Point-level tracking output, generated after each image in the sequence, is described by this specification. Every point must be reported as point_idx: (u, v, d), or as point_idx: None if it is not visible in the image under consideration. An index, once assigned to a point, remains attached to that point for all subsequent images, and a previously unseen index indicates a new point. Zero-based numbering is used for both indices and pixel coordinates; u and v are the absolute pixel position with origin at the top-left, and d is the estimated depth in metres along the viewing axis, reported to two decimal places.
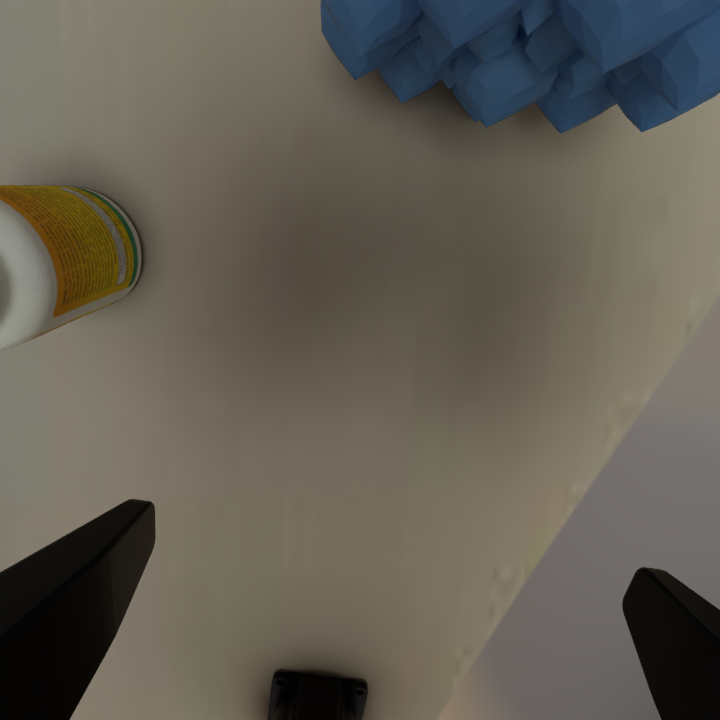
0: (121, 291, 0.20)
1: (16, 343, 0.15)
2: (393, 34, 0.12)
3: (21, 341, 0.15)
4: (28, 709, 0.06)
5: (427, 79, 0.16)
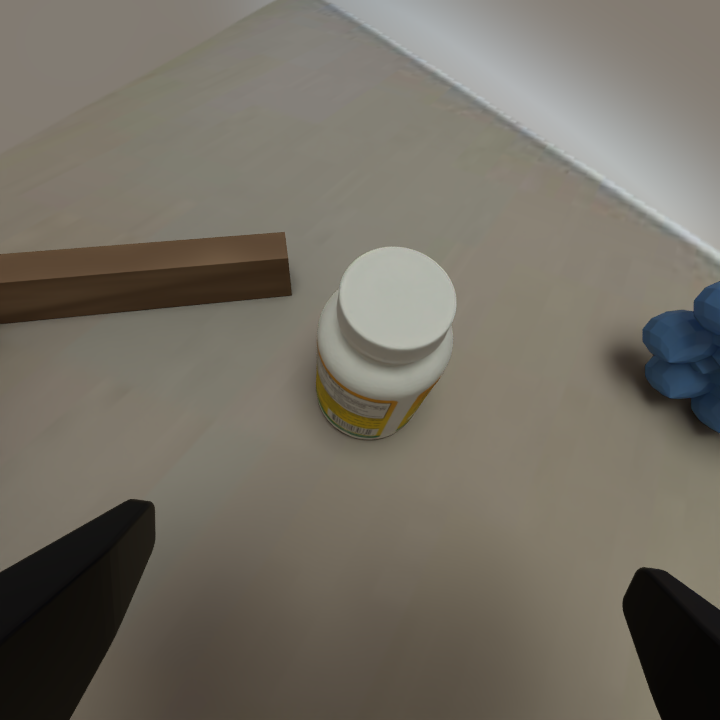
0: (395, 428, 0.22)
1: (390, 394, 0.16)
2: None
3: (394, 395, 0.16)
4: (28, 709, 0.06)
5: (699, 388, 0.23)
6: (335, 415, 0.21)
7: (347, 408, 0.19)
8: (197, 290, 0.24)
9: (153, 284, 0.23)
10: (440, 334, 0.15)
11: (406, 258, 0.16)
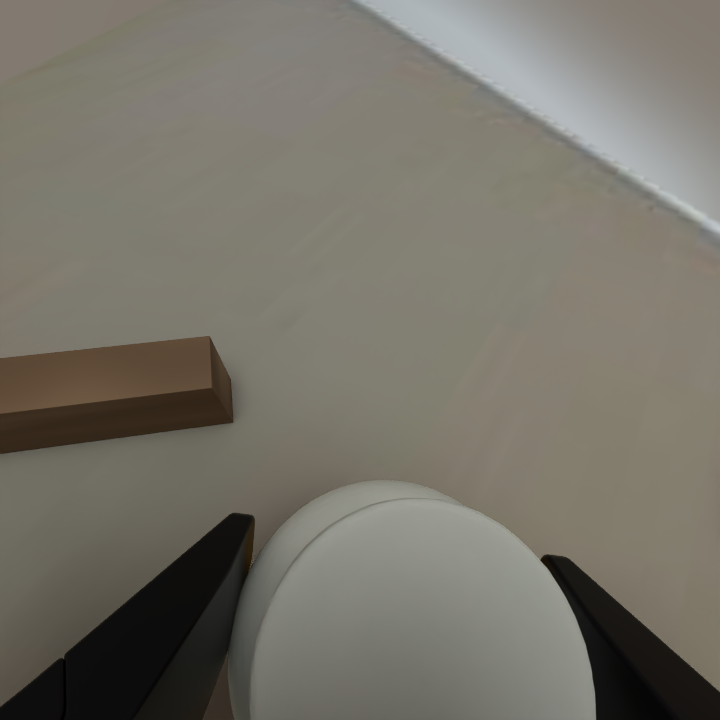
0: None
1: None
2: None
3: None
4: None
5: None
6: None
7: None
8: (62, 431, 0.14)
9: None
10: None
11: (445, 538, 0.06)
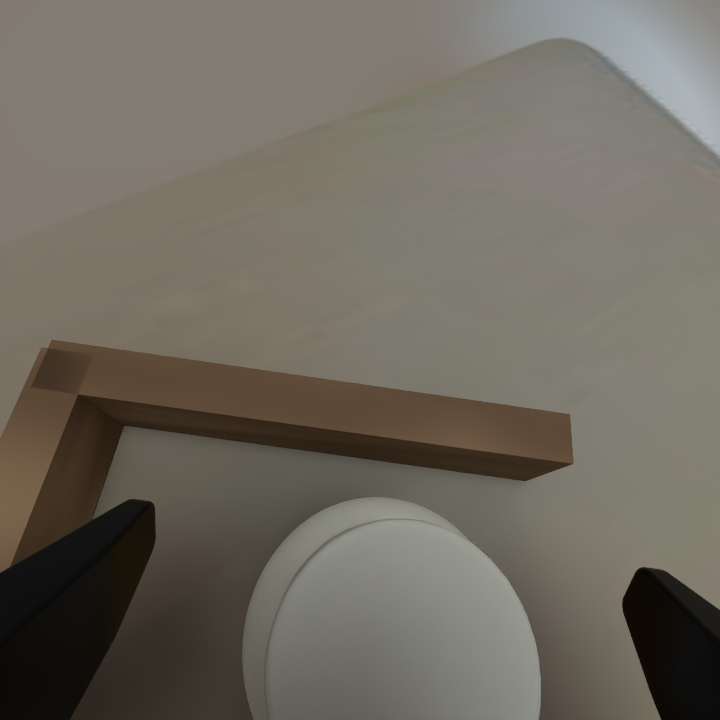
0: None
1: None
2: None
3: None
4: (28, 709, 0.06)
5: None
6: None
7: None
8: (407, 456, 0.16)
9: (354, 442, 0.15)
10: None
11: (423, 553, 0.07)
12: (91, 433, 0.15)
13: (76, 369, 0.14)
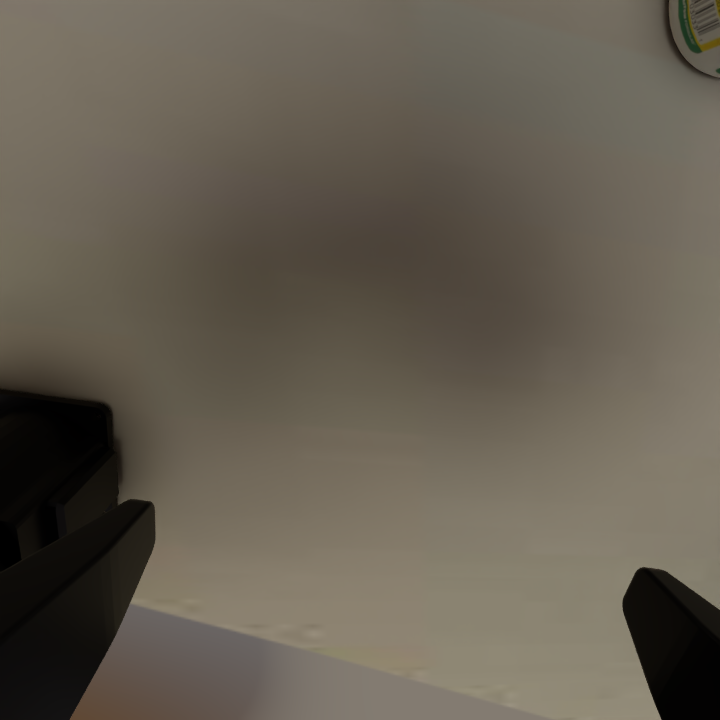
0: None
1: None
2: None
3: None
4: (28, 709, 0.06)
5: None
6: None
7: None
8: None
9: None
10: None
11: None
12: None
13: None
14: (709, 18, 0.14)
